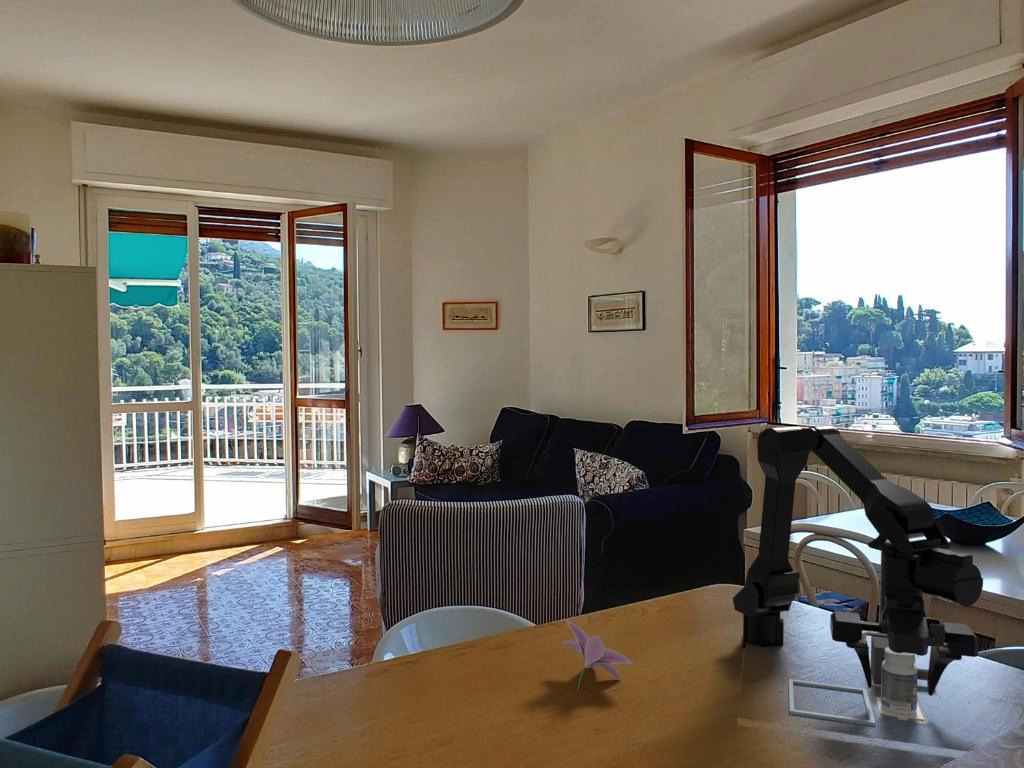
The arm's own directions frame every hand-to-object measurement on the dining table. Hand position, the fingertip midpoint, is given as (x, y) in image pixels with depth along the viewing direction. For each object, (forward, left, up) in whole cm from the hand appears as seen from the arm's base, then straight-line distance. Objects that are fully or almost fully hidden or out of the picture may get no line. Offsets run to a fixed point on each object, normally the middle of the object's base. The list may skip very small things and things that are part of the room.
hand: (899, 690), depth 113 cm
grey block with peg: (+2, +10, -3) cm, 11 cm away
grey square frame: (-9, -1, -4) cm, 10 cm away
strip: (0, +5, -4) cm, 6 cm away
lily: (-45, -3, -4) cm, 45 cm away
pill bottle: (0, 0, -3) cm, 3 cm away
